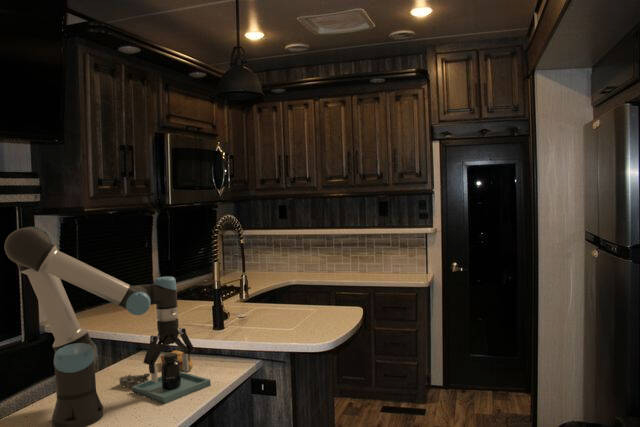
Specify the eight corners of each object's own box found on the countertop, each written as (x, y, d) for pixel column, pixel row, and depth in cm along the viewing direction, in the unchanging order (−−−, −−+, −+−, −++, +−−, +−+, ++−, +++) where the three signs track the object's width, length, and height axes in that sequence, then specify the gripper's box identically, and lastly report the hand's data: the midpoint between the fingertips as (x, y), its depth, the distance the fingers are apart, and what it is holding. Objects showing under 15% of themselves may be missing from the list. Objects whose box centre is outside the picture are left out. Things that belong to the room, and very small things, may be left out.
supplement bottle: (168, 391, 186) (166, 358, 185) (158, 387, 190) (156, 355, 190) (184, 386, 191) (183, 354, 190) (174, 381, 195) (173, 350, 195)
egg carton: (152, 383, 198) (151, 373, 198) (137, 390, 191) (137, 380, 191) (131, 380, 203) (130, 370, 202) (116, 387, 196) (115, 377, 196)
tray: (164, 404, 176) (164, 397, 176) (132, 392, 189) (131, 386, 189) (210, 385, 192) (210, 379, 192) (177, 376, 205) (177, 370, 204)
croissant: (197, 377, 212) (204, 358, 215) (179, 372, 205) (186, 352, 208) (167, 367, 226) (174, 349, 228) (149, 362, 219) (156, 344, 221)
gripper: (143, 327, 178) (146, 388, 178) (201, 313, 197) (204, 368, 198) (131, 325, 182) (134, 384, 183) (188, 311, 202) (191, 364, 202)
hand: (170, 376), depth 190 cm, fingers open, 13 cm apart
